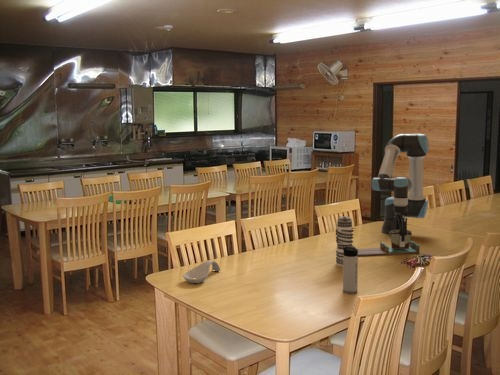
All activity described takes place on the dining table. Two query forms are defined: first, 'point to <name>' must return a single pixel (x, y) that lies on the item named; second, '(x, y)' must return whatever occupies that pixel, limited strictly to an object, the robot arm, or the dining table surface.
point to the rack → (388, 250)
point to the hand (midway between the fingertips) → (399, 245)
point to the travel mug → (350, 270)
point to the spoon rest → (200, 272)
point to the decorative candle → (343, 237)
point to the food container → (396, 239)
